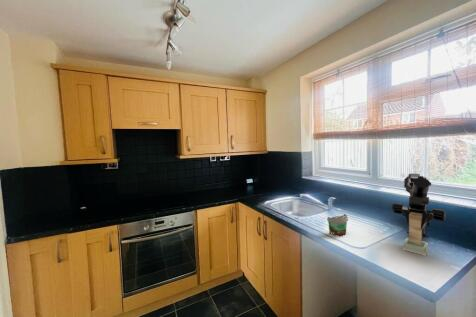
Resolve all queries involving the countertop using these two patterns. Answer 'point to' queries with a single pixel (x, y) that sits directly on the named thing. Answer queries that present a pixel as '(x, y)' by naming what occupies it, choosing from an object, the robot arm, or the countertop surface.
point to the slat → (415, 227)
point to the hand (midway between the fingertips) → (415, 227)
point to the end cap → (415, 247)
